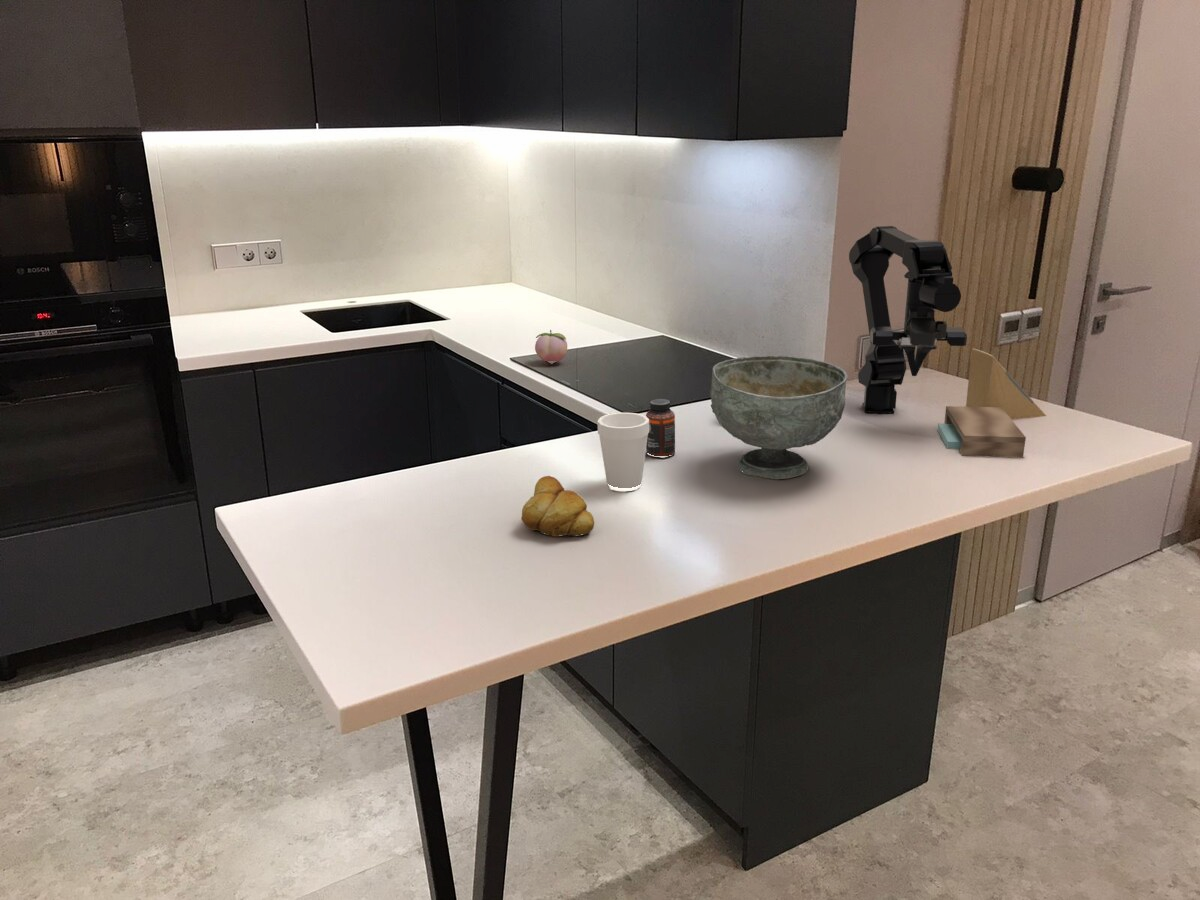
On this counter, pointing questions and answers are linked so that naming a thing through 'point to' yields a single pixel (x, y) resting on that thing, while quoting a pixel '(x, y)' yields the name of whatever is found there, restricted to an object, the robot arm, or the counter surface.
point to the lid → (950, 436)
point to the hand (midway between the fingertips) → (913, 375)
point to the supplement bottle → (661, 428)
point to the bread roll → (556, 510)
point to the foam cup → (623, 447)
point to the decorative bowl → (777, 408)
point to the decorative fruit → (551, 346)
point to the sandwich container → (997, 388)
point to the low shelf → (986, 431)
